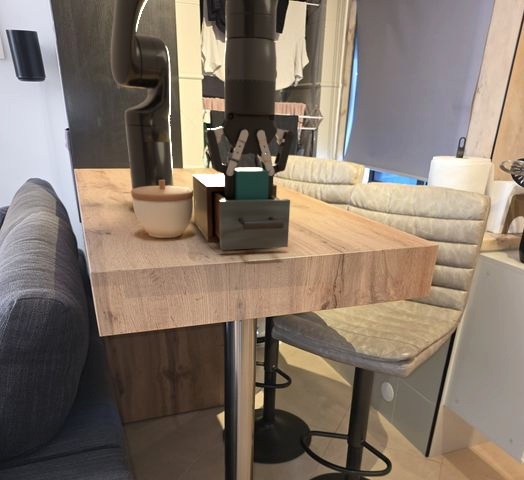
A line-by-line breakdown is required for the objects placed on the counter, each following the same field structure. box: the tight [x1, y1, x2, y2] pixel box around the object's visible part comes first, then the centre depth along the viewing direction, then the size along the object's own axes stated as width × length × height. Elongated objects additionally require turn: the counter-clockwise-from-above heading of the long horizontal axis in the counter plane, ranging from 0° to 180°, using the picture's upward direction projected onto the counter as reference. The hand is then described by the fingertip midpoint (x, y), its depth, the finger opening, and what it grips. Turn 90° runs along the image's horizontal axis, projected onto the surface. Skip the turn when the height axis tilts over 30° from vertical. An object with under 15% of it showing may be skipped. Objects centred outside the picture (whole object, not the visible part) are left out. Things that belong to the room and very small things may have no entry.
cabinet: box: [192, 173, 278, 243], centre depth 86 cm, size 16×12×9 cm
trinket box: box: [130, 180, 194, 239], centre depth 81 cm, size 11×11×9 cm
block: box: [234, 167, 269, 200], centre depth 73 cm, size 5×5×5 cm
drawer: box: [212, 192, 291, 251], centre depth 75 cm, size 20×11×7 cm, turn 16°
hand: (248, 199), depth 74 cm, fingers closed on block, 5 cm apart
